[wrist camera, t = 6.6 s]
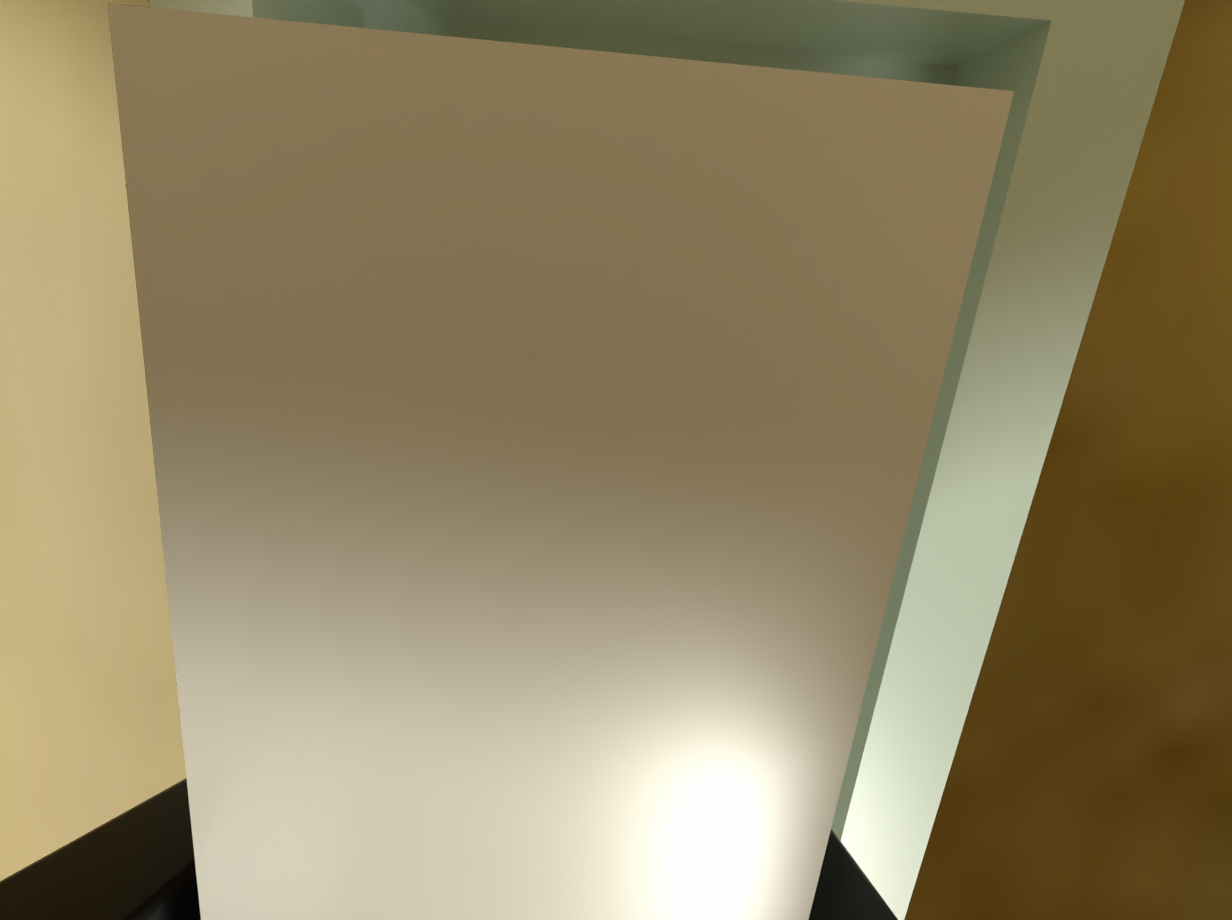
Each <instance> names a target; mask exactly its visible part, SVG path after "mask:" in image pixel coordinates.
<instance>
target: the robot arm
mask: <svg viewBox="0 0 1232 920" xmlns="http://www.w3.org/2000/svg"><path fill="white" fill-rule="evenodd" d="M0 920H201V916H200V906H199V896H198V887H197V877H196V867H195V857H194V847H193V837H192V828H191V818H190V808H189V798H188V788H187V779H184V780H182V781H180V782H179V783H177V784H175V785H173V786H171V787H170V788H168V789H166V790H164V791H162V792H161V793H159V794H157V795H155V796H153V797H152V798H150V799H148V800H146V801H144V802H143V803H141V804H139V805H137V806H135V807H134V808H132V809H130V810H128V811H126V812H125V813H123V814H121V815H119V816H117V817H116V818H114V819H112V820H110V821H108V822H107V823H105V824H103V825H101V826H99V827H97V828H96V829H94V830H92V831H90V832H88V833H87V834H85V835H83V836H81V837H79V838H78V839H76V840H74V841H72V842H70V843H69V844H67V845H65V846H63V847H61V848H60V849H58V850H56V851H54V852H52V853H51V854H49V855H47V856H45V857H43V858H42V859H40V860H38V861H36V862H34V863H33V864H31V865H29V866H27V867H25V868H23V869H22V870H20V871H18V872H16V873H14V874H13V875H11V876H9V877H7V878H5V879H4V880H2V881H0ZM809 920H898V919H897V917H896V916H895V915H894V913H893V912H892V911H891V909H890V908H889V906H888V905H887V904H886V902H885V901H884V900H883V898H882V897H881V896H880V894H879V893H878V891H877V890H876V889H875V887H874V886H873V885H872V883H871V882H870V880H869V879H868V878H867V876H866V875H865V874H864V872H863V871H862V870H861V868H860V867H859V865H858V864H857V863H856V861H855V860H854V859H853V857H852V856H851V854H850V853H849V852H848V850H847V849H846V848H845V846H844V845H843V844H842V842H841V841H840V839H839V838H838V837H837V835H836V834H835V833H834V831H833V830H832V828H831V831H830V835H829V839H828V843H827V847H826V851H825V855H824V859H823V863H822V867H821V871H820V875H819V879H818V883H817V887H816V891H815V896H814V900H813V904H812V908H811V912H810V916H809Z"/></svg>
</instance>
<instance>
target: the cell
mask: <svg viewBox="0 0 1232 920" xmlns="http://www.w3.org/2000/svg"><path fill="white" fill-rule="evenodd" d="M108 12H109V22H110V32H111V42H112V51H113V61H114V71H115V81H116V91H117V101H118V110H119V120H120V130H121V140H122V150H123V159H124V169H125V179H126V189H127V199H128V209H129V218H130V228H131V238H132V248H133V258H134V268H135V277H136V287H137V297H138V307H139V317H140V327H141V336H142V346H143V356H144V366H145V376H146V385H147V395H148V405H149V415H150V425H151V435H152V444H153V454H154V464H155V474H156V484H157V494H158V503H159V513H160V523H161V533H162V543H163V553H164V562H165V572H166V582H167V592H168V602H169V611H170V621H171V631H172V641H173V651H174V661H175V670H176V680H177V690H178V700H179V710H180V720H181V729H182V739H183V749H184V759H185V769H186V779H187V788H188V798H189V808H190V818H191V828H192V837H193V847H194V857H195V867H196V877H197V887H198V896H199V906H200V916H201V920H809V916H810V912H811V908H812V904H813V900H814V896H815V891H816V887H817V883H818V879H819V875H820V871H821V867H822V863H823V859H824V855H825V851H826V847H827V843H828V839H829V835H830V831H831V827H832V823H833V819H834V815H835V811H836V807H837V803H838V799H839V795H840V791H841V787H842V783H843V779H844V775H845V771H846V767H847V763H848V759H849V755H850V751H851V747H852V743H853V738H854V734H855V730H856V726H857V722H858V718H859V714H860V710H861V706H862V702H863V698H864V694H865V690H866V686H867V682H868V678H869V674H870V670H871V666H872V662H873V658H874V654H875V650H876V646H877V642H878V638H879V634H880V630H881V626H882V622H883V618H884V614H885V610H886V606H887V602H888V598H889V594H890V590H891V585H892V581H893V577H894V573H895V569H896V565H897V561H898V557H899V553H900V549H901V545H902V541H903V537H904V533H905V529H906V525H907V521H908V517H909V513H910V509H911V505H912V501H913V497H914V493H915V489H916V485H917V481H918V477H919V473H920V469H921V465H922V461H923V457H924V453H925V449H926V445H927V441H928V437H929V433H930V428H931V424H932V420H933V416H934V412H935V408H936V404H937V400H938V396H939V392H940V388H941V384H942V380H943V376H944V372H945V368H946V364H947V360H948V356H949V352H950V348H951V344H952V340H953V336H954V332H955V328H956V324H957V320H958V316H959V312H960V308H961V304H962V300H963V296H964V292H965V288H966V284H967V280H968V275H969V271H970V267H971V263H972V259H973V255H974V251H975V247H976V243H977V239H978V235H979V231H980V227H981V223H982V219H983V215H984V211H985V207H986V203H987V199H988V195H989V191H990V187H991V183H992V179H993V175H994V171H995V167H996V163H997V159H998V155H999V151H1000V147H1001V143H1002V139H1003V135H1004V131H1005V127H1006V122H1007V118H1008V114H1009V110H1010V106H1011V102H1012V98H1013V94H1014V91H1006V90H996V89H986V88H975V87H965V86H955V85H945V84H934V83H924V82H914V81H903V80H893V79H883V78H872V77H862V76H852V75H841V74H831V73H821V72H811V71H800V70H790V69H780V68H769V67H759V66H749V65H738V64H728V63H718V62H708V61H697V60H687V59H677V58H666V57H656V56H646V55H635V54H625V53H615V52H604V51H594V50H584V49H574V48H563V47H553V46H543V45H532V44H522V43H512V42H501V41H491V40H481V39H471V38H460V37H450V36H440V35H429V34H419V33H409V32H398V31H388V30H378V29H368V28H357V27H347V26H337V25H326V24H316V23H306V22H295V21H285V20H275V19H264V18H254V17H244V16H234V15H223V14H213V13H203V12H192V11H182V10H172V9H161V8H151V7H141V6H131V5H120V4H110V3H108Z"/></svg>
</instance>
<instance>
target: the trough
mask: <svg viewBox="0 0 1232 920" xmlns="http://www.w3.org/2000/svg"><path fill="white" fill-rule="evenodd" d="M1184 2H1185V0H149V7H151V8H161V9H172V10H182V11H192V12H203V13H213V14H223V15H234V16H244V17H254V18H264V19H275V20H285V21H295V22H306V23H316V24H326V25H337V26H347V27H357V28H368V29H378V30H388V31H398V32H409V33H419V34H429V35H440V36H450V37H460V38H471V39H481V40H491V41H501V42H512V43H522V44H532V45H543V46H553V47H563V48H574V49H584V50H594V51H604V52H615V53H625V54H635V55H646V56H656V57H666V58H677V59H687V60H697V61H708V62H718V63H728V64H738V65H749V66H759V67H769V68H780V69H790V70H800V71H811V72H821V73H831V74H841V75H852V76H862V77H872V78H883V79H893V80H903V81H914V82H924V83H934V84H945V85H955V86H965V87H975V88H986V89H996V90H1006V91H1014V94H1013V98H1012V102H1011V106H1010V110H1009V114H1008V118H1007V122H1006V127H1005V131H1004V135H1003V139H1002V143H1001V147H1000V151H999V155H998V159H997V163H996V167H995V171H994V175H993V179H992V183H991V187H990V191H989V195H988V199H987V203H986V207H985V211H984V215H983V219H982V223H981V227H980V231H979V235H978V239H977V243H976V247H975V251H974V255H973V259H972V263H971V267H970V271H969V275H968V280H967V284H966V288H965V292H964V296H963V300H962V304H961V308H960V312H959V316H958V320H957V324H956V328H955V332H954V336H953V340H952V344H951V348H950V352H949V356H948V360H947V364H946V368H945V372H944V376H943V380H942V384H941V388H940V392H939V396H938V400H937V404H936V408H935V412H934V416H933V420H932V424H931V428H930V433H929V437H928V441H927V445H926V449H925V453H924V457H923V461H922V465H921V469H920V473H919V477H918V481H917V485H916V489H915V493H914V497H913V501H912V505H911V509H910V513H909V517H908V521H907V525H906V529H905V533H904V537H903V541H902V545H901V549H900V553H899V557H898V561H897V565H896V569H895V573H894V577H893V581H892V585H891V590H890V594H889V598H888V602H887V606H886V610H885V614H884V618H883V622H882V626H881V630H880V634H879V638H878V642H877V646H876V650H875V654H874V658H873V662H872V666H871V670H870V674H869V678H868V682H867V686H866V690H865V694H864V698H863V702H862V706H861V710H860V714H859V718H858V722H857V726H856V730H855V734H854V738H853V743H852V747H851V751H850V755H849V759H848V763H847V767H846V771H845V775H844V779H843V783H842V787H841V791H840V795H839V799H838V803H837V807H836V811H835V815H834V819H833V823H832V827H831V828H832V830H833V831H834V833H835V834H836V835H837V837H838V838H839V839H840V841H841V842H842V844H843V845H844V846H845V848H846V849H847V850H848V852H849V853H850V854H851V856H852V857H853V859H854V860H855V861H856V863H857V864H858V865H859V867H860V868H861V870H862V871H863V872H864V874H865V875H866V876H867V878H868V879H869V880H870V882H871V883H872V885H873V886H874V887H875V889H876V890H877V891H878V893H879V894H880V896H881V897H882V898H883V900H884V901H885V902H886V904H887V905H888V906H889V908H890V909H891V911H892V912H893V913H894V915H895V916H896V917H897V919H898V920H904V918H905V915H906V911H907V908H908V905H909V902H910V898H911V895H912V892H913V889H914V885H915V882H916V879H917V876H918V872H919V869H920V866H921V862H922V859H923V856H924V853H925V849H926V846H927V843H928V840H929V836H930V833H931V830H932V826H933V823H934V820H935V817H936V813H937V810H938V807H939V804H940V800H941V797H942V794H943V790H944V787H945V784H946V781H947V777H948V774H949V771H950V768H951V764H952V761H953V758H954V754H955V751H956V748H957V745H958V741H959V738H960V735H961V732H962V728H963V725H964V722H965V718H966V715H967V712H968V709H969V705H970V702H971V699H972V696H973V692H974V689H975V686H976V682H977V679H978V676H979V673H980V669H981V666H982V663H983V660H984V656H985V653H986V650H987V646H988V643H989V640H990V637H991V633H992V630H993V627H994V624H995V620H996V617H997V614H998V610H999V607H1000V604H1001V601H1002V597H1003V594H1004V591H1005V588H1006V584H1007V581H1008V578H1009V574H1010V571H1011V568H1012V565H1013V561H1014V558H1015V555H1016V552H1017V548H1018V545H1019V542H1020V538H1021V535H1022V532H1023V529H1024V525H1025V522H1026V519H1027V516H1028V512H1029V509H1030V506H1031V502H1032V499H1033V496H1034V493H1035V489H1036V486H1037V483H1038V480H1039V476H1040V473H1041V470H1042V466H1043V463H1044V460H1045V457H1046V453H1047V450H1048V447H1049V444H1050V440H1051V437H1052V434H1053V430H1054V427H1055V424H1056V421H1057V417H1058V414H1059V411H1060V408H1061V404H1062V401H1063V398H1064V394H1065V391H1066V388H1067V385H1068V381H1069V378H1070V375H1071V372H1072V368H1073V365H1074V362H1075V358H1076V355H1077V352H1078V349H1079V345H1080V342H1081V339H1082V336H1083V332H1084V329H1085V326H1086V322H1087V319H1088V316H1089V313H1090V309H1091V306H1092V303H1093V300H1094V296H1095V293H1096V290H1097V286H1098V283H1099V280H1100V277H1101V273H1102V270H1103V267H1104V264H1105V260H1106V257H1107V254H1108V250H1109V247H1110V244H1111V241H1112V237H1113V234H1114V231H1115V228H1116V224H1117V221H1118V218H1119V214H1120V211H1121V208H1122V205H1123V201H1124V198H1125V195H1126V192H1127V188H1128V185H1129V182H1130V178H1131V175H1132V172H1133V169H1134V165H1135V162H1136V159H1137V156H1138V152H1139V149H1140V146H1141V142H1142V139H1143V136H1144V133H1145V129H1146V126H1147V123H1148V120H1149V116H1150V113H1151V110H1152V106H1153V103H1154V100H1155V97H1156V93H1157V90H1158V87H1159V84H1160V80H1161V77H1162V74H1163V70H1164V67H1165V64H1166V61H1167V57H1168V54H1169V51H1170V48H1171V44H1172V41H1173V38H1174V34H1175V31H1176V28H1177V25H1178V21H1179V18H1180V15H1181V12H1182V8H1183V5H1184Z"/></svg>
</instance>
